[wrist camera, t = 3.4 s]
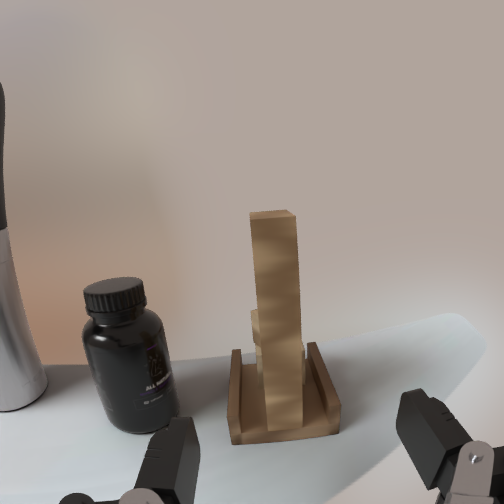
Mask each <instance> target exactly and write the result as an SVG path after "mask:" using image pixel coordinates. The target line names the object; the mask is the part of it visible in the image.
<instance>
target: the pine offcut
mask: <svg viewBox="0 0 504 504" xmlns="http://www.w3.org/2000/svg"><path fill="white" fill-rule="evenodd" d="M255 345H256V344H255ZM256 360H257V371H258V381H259V389H264V377H263V365H262V354H261V348H260V347H259V346H258V345H256ZM302 385H305V349H304V346H303V343H302Z"/></svg>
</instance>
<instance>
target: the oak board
mask: <svg viewBox="0 0 504 504" xmlns="http://www.w3.org/2000/svg"><path fill="white" fill-rule="evenodd" d="M250 225H251V236H252V248H253V260H254V271H255V283H256V295H257V307H258V318H259V330H260V342H261V354H262V365H263V377H264V389H265V401H266V413H267V424H268V431H277V430H287V429H296V428H303V396H302V340H301V309H300V288H299V287H300V285H299V264H298V246H297V231H296V230H297V229H296V216H295V215H293V214H292V213H290V212H289V211H287V210H276V211H265V212H264V211H263V212H251V213H250Z"/></svg>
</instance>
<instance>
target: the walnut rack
mask: <svg viewBox="0 0 504 504" xmlns="http://www.w3.org/2000/svg"><path fill="white" fill-rule="evenodd" d="M302 396H303V428H296V429H287V430H277V431H268V424H267V413H266V401H265V389H259V381H258V371H257V364H247V365H242V357H241V349H236V350H232V358H231V371H230V383H229V396H228V408H227V420H228V426H229V431H230V437H231V442H232V445H239V444H256V443H269V442H280V441H289V440H298V439H306V438H313V437H320V436H326V435H333V434H338V433H339V423H340V412H341V403H340V401H339V398H338V396H337V393H336V391H335V388H334V386H333V383H332V381H331V379H330V376H329V374H328V371H327V369H326V366H325V364H324V362H323V359H322V357H321V354H320V352H319V350H318V347H317V345H316V342H311V343H307V359H305V385H302Z"/></svg>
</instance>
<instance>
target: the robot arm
mask: <svg viewBox="0 0 504 504" xmlns="http://www.w3.org/2000/svg"><path fill="white" fill-rule="evenodd" d="M4 126H5V98H4V91H3V88H2V85H1V83H0V411H10V410H14V409H18V408H21V407H23V406H26V405H27V404H29V403H31V402H33V401H34V400H36V399H37V398H38V397H39V396H40V395H41V394H42V393H43V392H44V390H45V389H46V386H47V381H48V380H47V377H46V374H45V372H44V369H43V366H42V364H41V361H40V358H39V355H38V352H37V349H36V346H35V343H34V340H33V337H32V333H31V330H30V327H29V324H28V320H27V317H26V313H25V309H24V306H23V302H22V298H21V294H20V290H19V286H18V281H17V277H16V272H15V267H14V262H13V257H12V252H11V247H10V240H9V234H8V229H7V228H6V227H7V220H6V211H5V198H4V183H3V143H4ZM396 430H397V434H398V436H399V438H400V439H401V441H402V443H403V445H404V446H405V449H406V450H407V452H408V454H409V456H410V458H411V460H412V461H413V463H414V465H415V467H416V469H417V471H418V473H419V475H420V476H421V479H422V480H423V482H424V484H425V486H426V488H427V490H431V489H434V488H436V487H438V488H439V490H440V492H439V495H438V497H437V500H436V503H435V504H504V446H502V447H497V448H492V447H491V446H490V445H489V444H487V443H485V442H482V441H473V440H472V438H471V437H470V436H469V435H468V433H467V432H466V431H465V429H464V428H463V427H462V426H461V424H460V423H459V422H458V420H457V419H455V417H454V415H453V414H452V413H451V412H450V411H449V409H448V408H447V407H446V405H445V404H444V403H443V402H441V401H439V400H438V399H436V398H434V397H432V398H429V397H428V396H427V394H426V393H425V392H424V391H423V389H421V388H420V389H416V390H412V391H408V392H404V393H403V394H402V396H401V400H400V405H399V410H398V414H397V419H396ZM147 449H148V450H147V451H146V454H145V458H144V460H143V463H142V465H141V468H140V471H139V474H138V478H137V481H136V484H135V486H134V489H132V490H130V491H128V492H126V493H125V494H124V495H123V496H122V497H121V498H120V499H119V500H114V501H102V502H94V501H93V499H92V498H91V497H89V496H88V495H86V494H83V493H72V494H69V495H67V496H65V497H64V498H63V499H62V500H61V501H60V503H59V504H194V497H195V490H196V483H197V477H198V470H199V463H200V445H199V441H198V437H197V434H196V430H195V426H194V422H193V419H192V418H191V417H172V418H171V420H170V423H169V426H168V430H158V431H157V432H156V433H155V434H154V435H153V436H152V437H151V439H150V442H149V445H148V448H147Z"/></svg>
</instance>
